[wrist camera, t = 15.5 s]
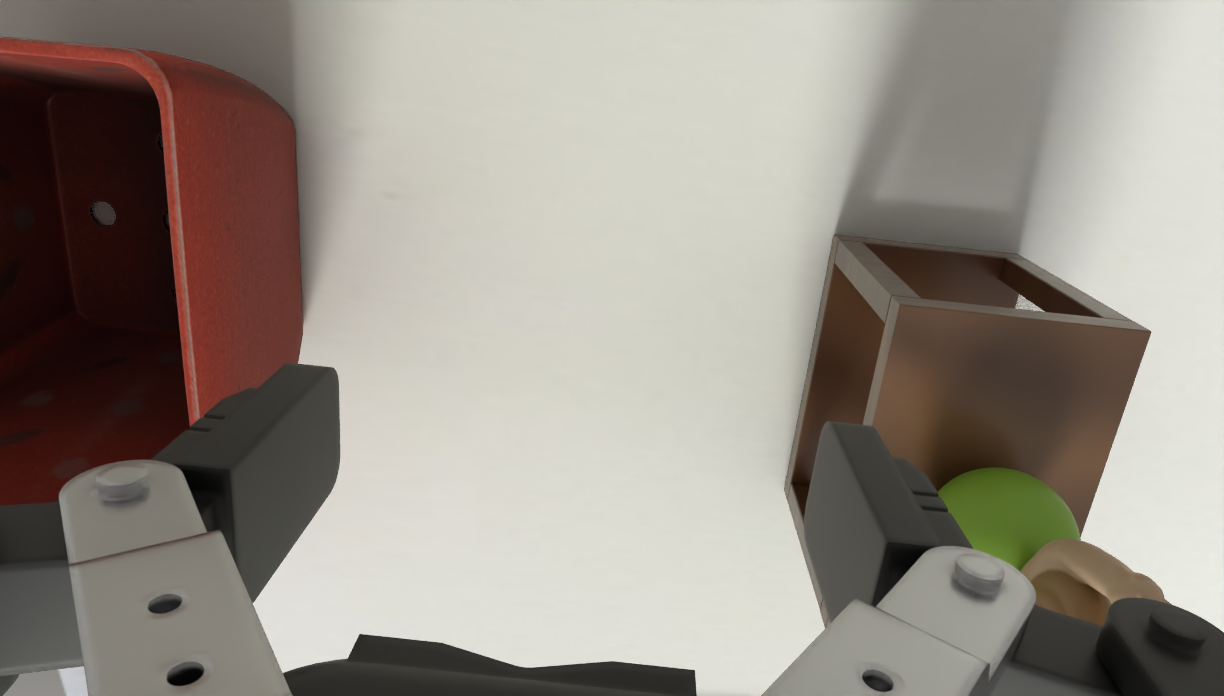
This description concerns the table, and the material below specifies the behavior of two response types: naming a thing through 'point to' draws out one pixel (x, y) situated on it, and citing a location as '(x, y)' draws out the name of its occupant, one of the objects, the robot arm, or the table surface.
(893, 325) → the box
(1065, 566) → the snail figurine
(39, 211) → the flower pot
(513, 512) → the table surface
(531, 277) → the table surface
